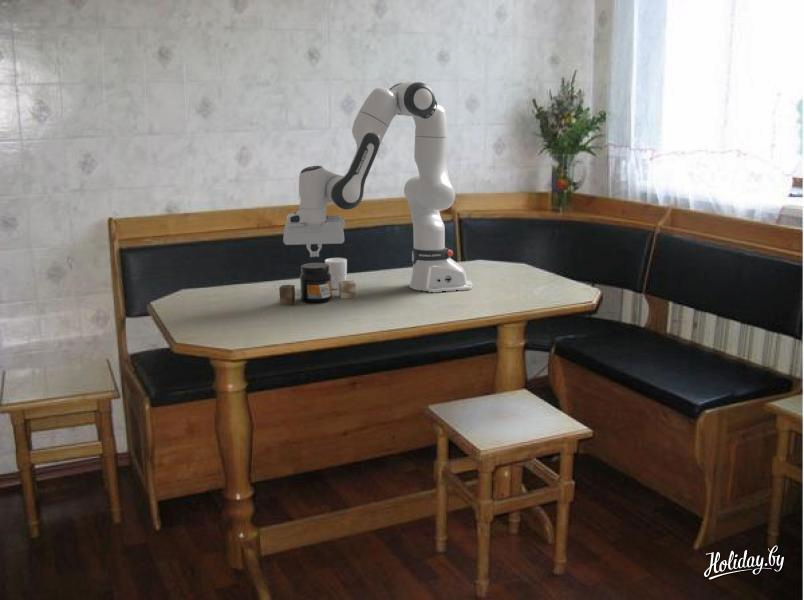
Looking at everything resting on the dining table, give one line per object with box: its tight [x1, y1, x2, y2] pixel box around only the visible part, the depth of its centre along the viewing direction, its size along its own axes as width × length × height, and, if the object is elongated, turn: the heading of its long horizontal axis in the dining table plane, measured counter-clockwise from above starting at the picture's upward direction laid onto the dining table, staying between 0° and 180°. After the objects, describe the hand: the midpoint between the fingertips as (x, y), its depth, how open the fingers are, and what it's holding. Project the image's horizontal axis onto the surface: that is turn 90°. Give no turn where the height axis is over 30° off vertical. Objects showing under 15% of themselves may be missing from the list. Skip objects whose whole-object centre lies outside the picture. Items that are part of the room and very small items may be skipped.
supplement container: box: [299, 262, 333, 304], centre depth 287 cm, size 10×10×12 cm
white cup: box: [324, 257, 348, 290], centre depth 305 cm, size 8×8×10 cm
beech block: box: [338, 280, 357, 300], centre depth 292 cm, size 5×5×5 cm
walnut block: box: [278, 284, 296, 306], centre depth 283 cm, size 4×4×6 cm
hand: (314, 257), depth 285 cm, fingers closed
